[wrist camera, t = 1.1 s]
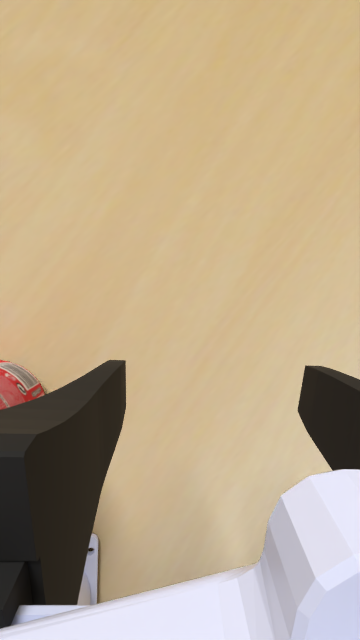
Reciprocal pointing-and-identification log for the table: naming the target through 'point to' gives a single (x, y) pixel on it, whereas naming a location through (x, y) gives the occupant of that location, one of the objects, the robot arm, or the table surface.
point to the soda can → (17, 385)
